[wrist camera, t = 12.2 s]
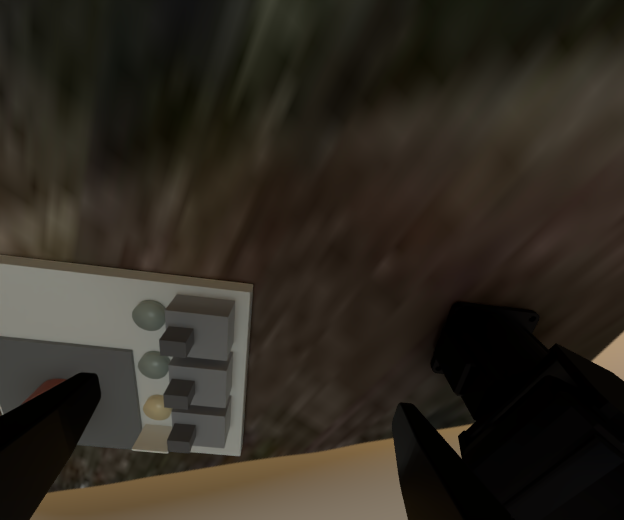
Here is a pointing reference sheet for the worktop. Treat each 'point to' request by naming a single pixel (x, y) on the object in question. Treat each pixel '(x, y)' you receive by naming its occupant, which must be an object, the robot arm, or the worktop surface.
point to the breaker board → (131, 351)
